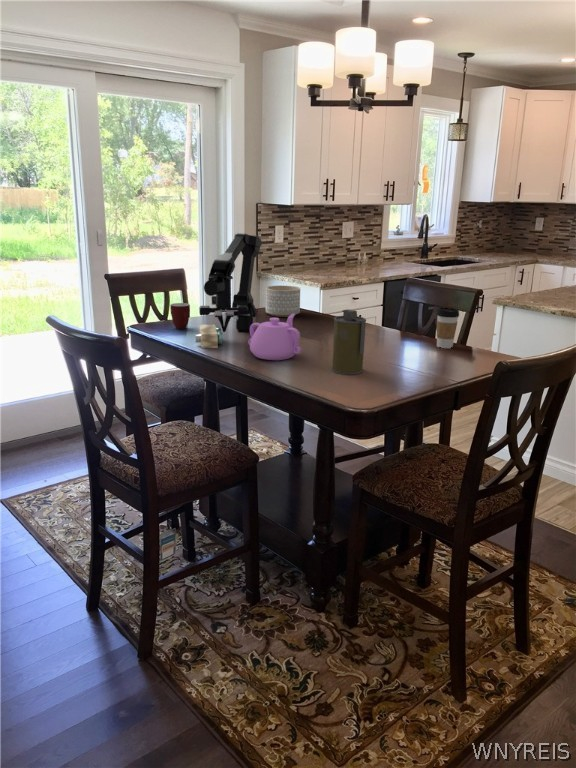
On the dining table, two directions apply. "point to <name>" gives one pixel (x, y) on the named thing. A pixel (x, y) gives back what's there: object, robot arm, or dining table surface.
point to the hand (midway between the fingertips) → (224, 331)
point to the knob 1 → (198, 338)
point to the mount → (208, 336)
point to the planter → (282, 300)
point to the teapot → (274, 339)
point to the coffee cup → (446, 326)
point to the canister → (348, 343)
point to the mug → (180, 314)
